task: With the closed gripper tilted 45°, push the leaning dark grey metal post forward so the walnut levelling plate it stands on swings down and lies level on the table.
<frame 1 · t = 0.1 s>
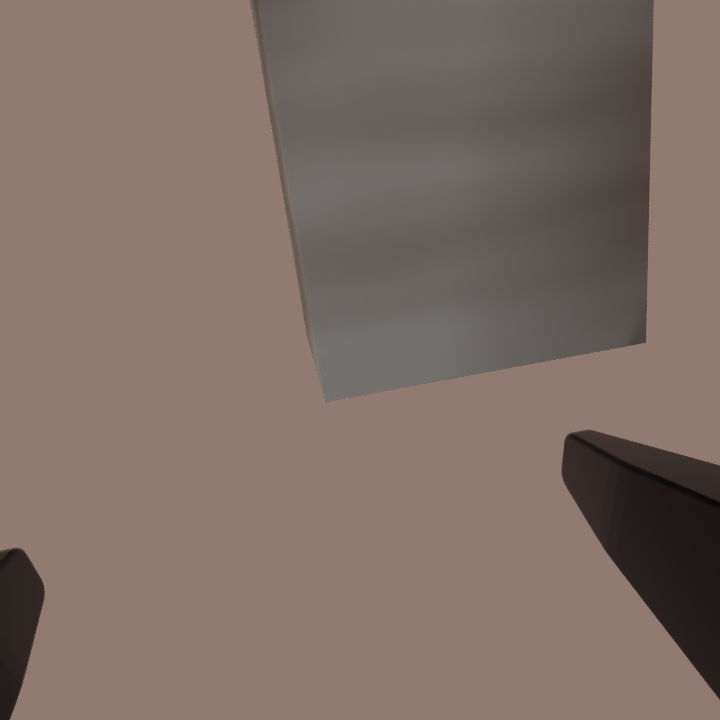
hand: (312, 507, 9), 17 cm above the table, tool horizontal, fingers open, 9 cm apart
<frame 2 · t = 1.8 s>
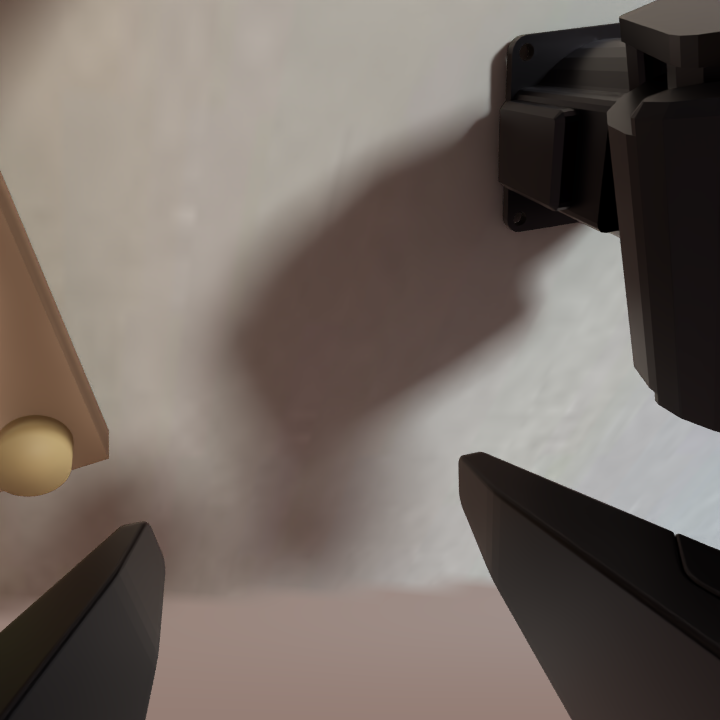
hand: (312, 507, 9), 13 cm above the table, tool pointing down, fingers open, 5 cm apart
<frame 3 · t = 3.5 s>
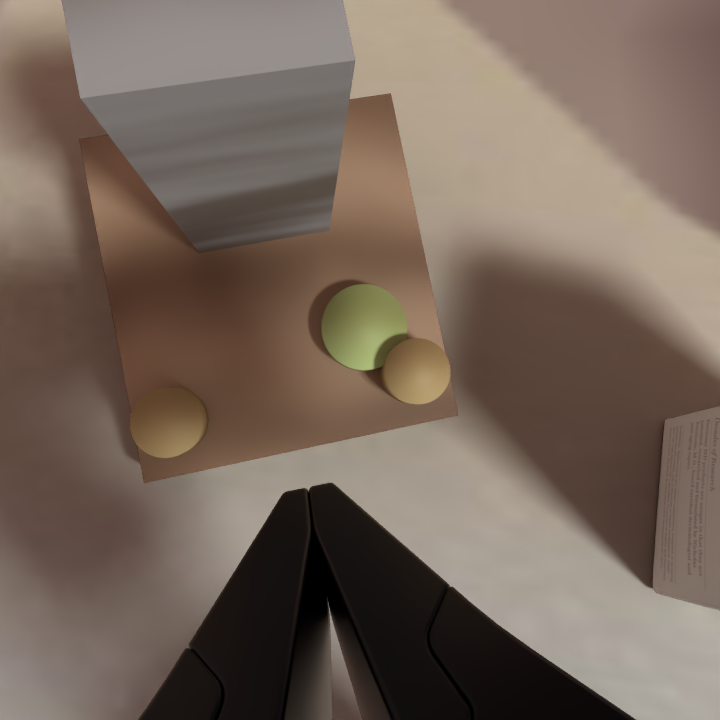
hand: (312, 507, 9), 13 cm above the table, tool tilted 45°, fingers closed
level plate: (263, 249, 16), point 8 cm above the table, hinge at -12.0°
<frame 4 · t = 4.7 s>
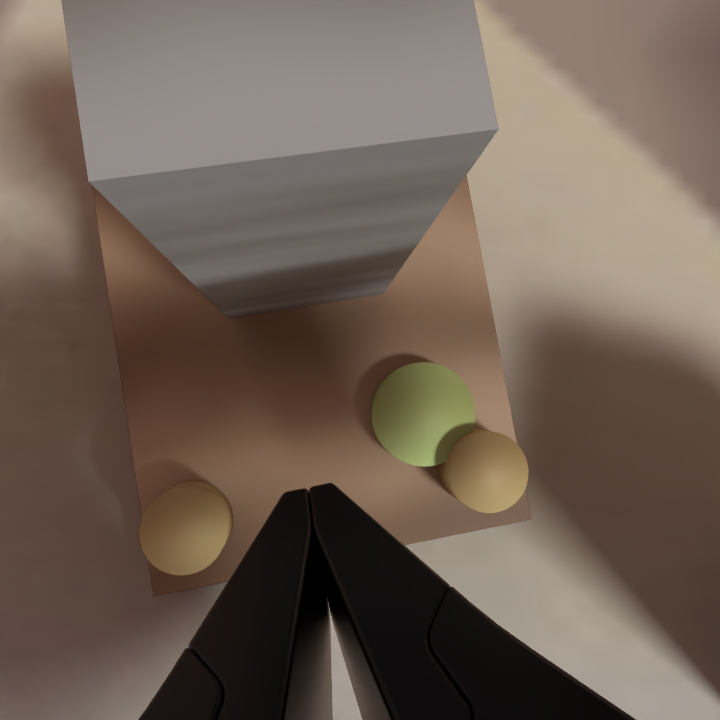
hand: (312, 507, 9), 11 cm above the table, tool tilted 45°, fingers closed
level plate: (316, 336, 13), point 8 cm above the table, hinge at -12.0°
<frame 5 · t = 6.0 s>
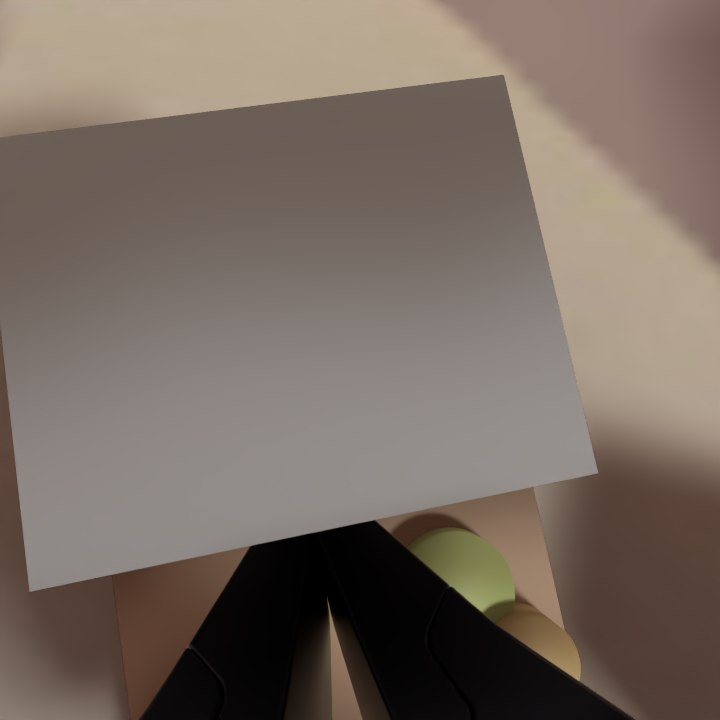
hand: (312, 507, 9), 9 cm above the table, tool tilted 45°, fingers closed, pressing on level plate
level plate: (334, 550, 11), point 7 cm above the table, hinge at -7.2°, touching gripper
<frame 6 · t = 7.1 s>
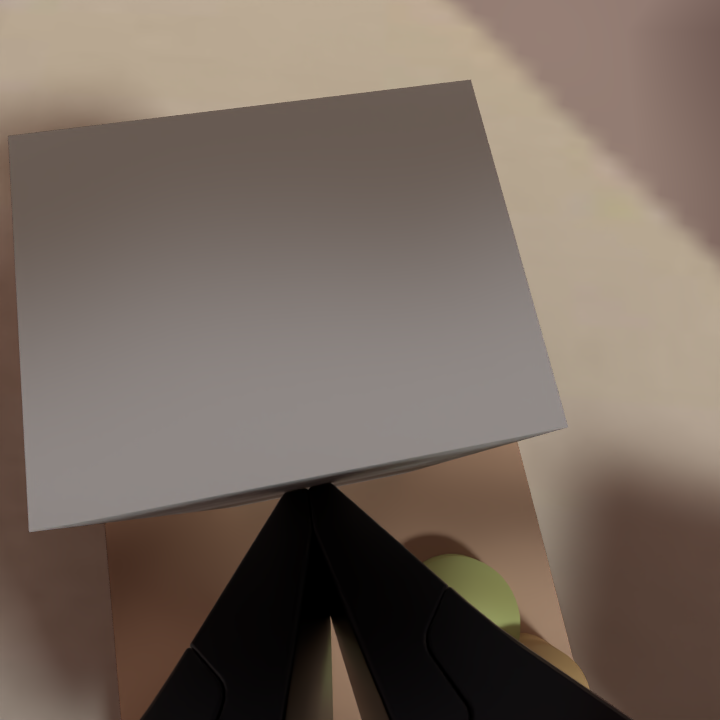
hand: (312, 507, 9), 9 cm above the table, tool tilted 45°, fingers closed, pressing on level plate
level plate: (332, 562, 11), point 7 cm above the table, hinge at 0.0°, touching gripper
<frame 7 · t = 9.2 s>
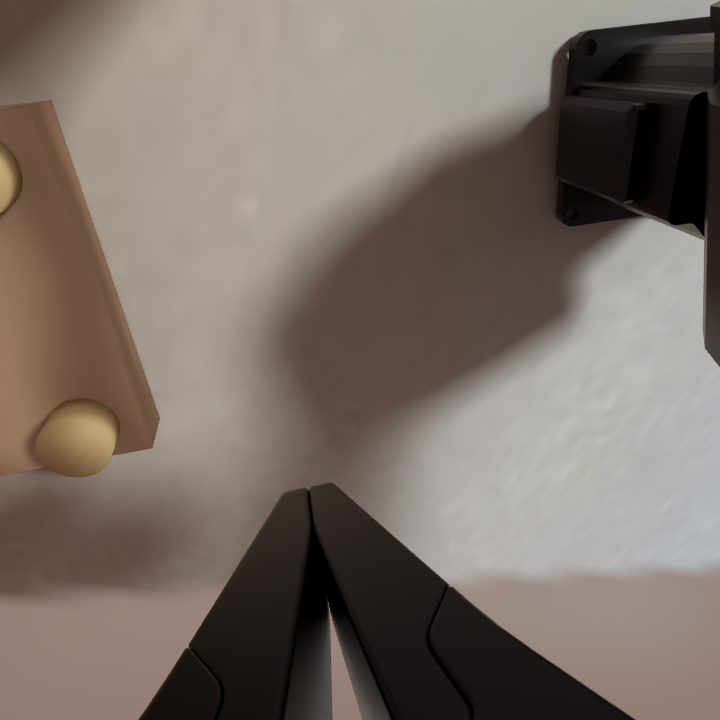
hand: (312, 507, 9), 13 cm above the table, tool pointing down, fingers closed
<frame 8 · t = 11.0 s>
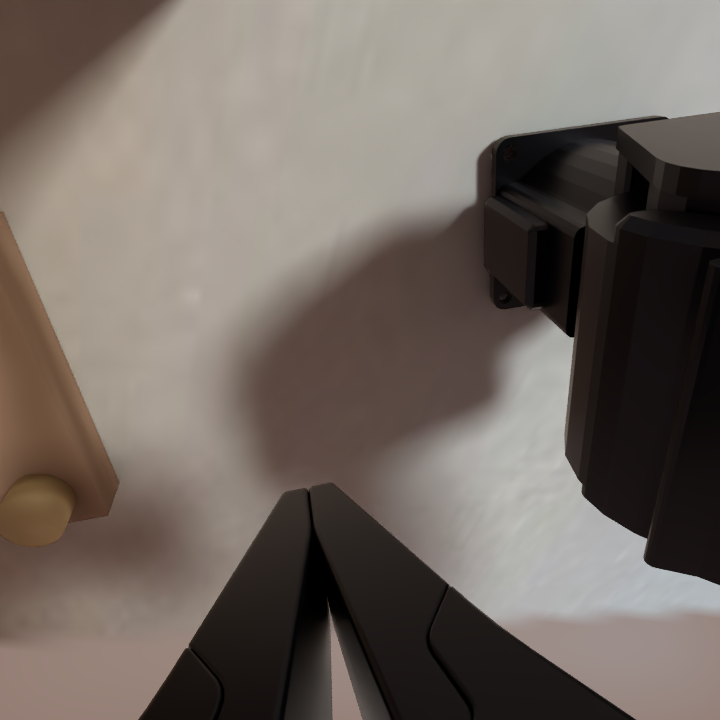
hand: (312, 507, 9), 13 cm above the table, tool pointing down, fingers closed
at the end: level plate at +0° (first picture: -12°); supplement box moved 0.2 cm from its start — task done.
